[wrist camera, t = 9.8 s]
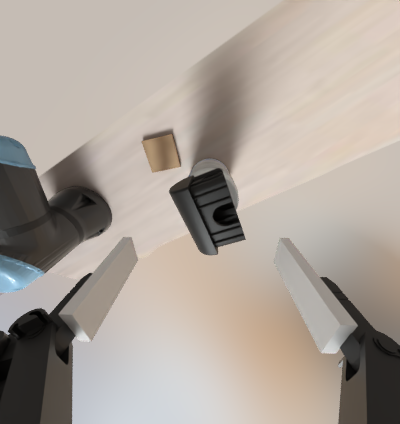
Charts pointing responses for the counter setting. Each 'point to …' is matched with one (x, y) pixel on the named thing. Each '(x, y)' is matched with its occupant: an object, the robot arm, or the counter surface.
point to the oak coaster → (161, 153)
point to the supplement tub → (213, 164)
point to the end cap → (208, 210)
